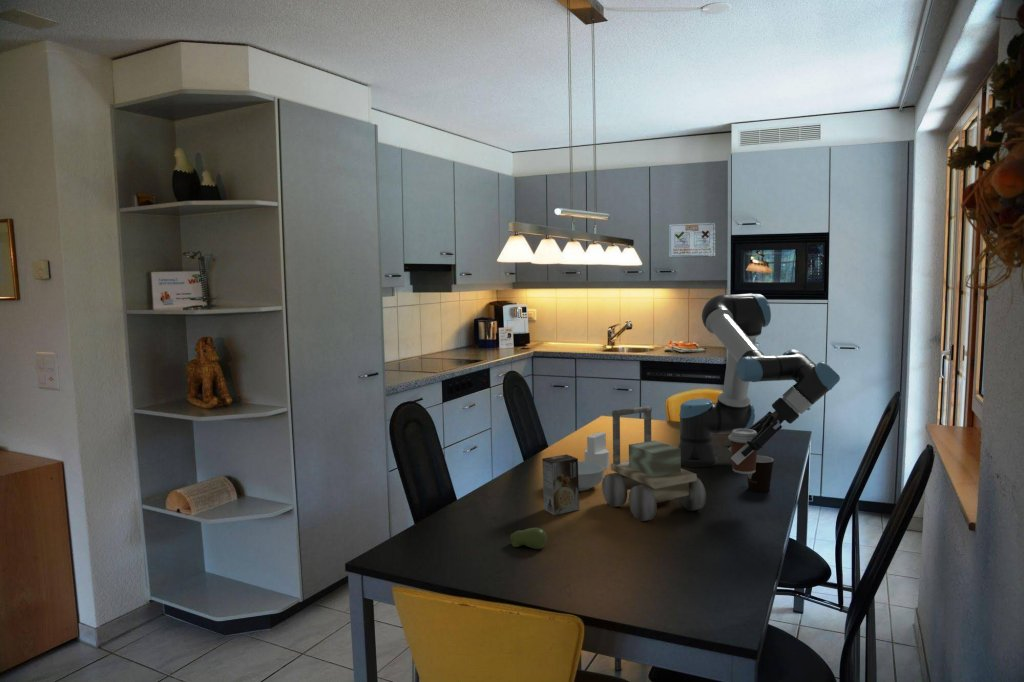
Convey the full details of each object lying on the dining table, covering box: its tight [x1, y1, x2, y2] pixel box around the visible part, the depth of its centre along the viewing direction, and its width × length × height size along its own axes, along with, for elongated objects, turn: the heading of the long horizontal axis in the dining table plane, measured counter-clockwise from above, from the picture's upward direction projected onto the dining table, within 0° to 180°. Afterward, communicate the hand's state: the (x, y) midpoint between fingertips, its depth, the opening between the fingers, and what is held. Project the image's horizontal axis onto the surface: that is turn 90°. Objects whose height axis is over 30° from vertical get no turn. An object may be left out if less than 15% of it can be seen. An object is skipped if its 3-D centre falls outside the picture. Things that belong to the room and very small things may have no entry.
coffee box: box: [541, 454, 580, 516], centre depth 202 cm, size 9×6×16 cm
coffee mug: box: [746, 455, 774, 493], centre depth 219 cm, size 12×9×10 cm
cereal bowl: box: [578, 460, 605, 492], centre depth 224 cm, size 17×17×7 cm
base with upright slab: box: [584, 431, 610, 470], centre depth 248 cm, size 9×9×12 cm
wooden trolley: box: [601, 405, 707, 522], centre depth 202 cm, size 24×21×29 cm
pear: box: [509, 527, 548, 550], centre depth 176 cm, size 6×5×10 cm
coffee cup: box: [727, 429, 758, 475], centre depth 199 cm, size 9×9×12 cm
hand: (732, 456), depth 200 cm, fingers closed on coffee cup, 9 cm apart
